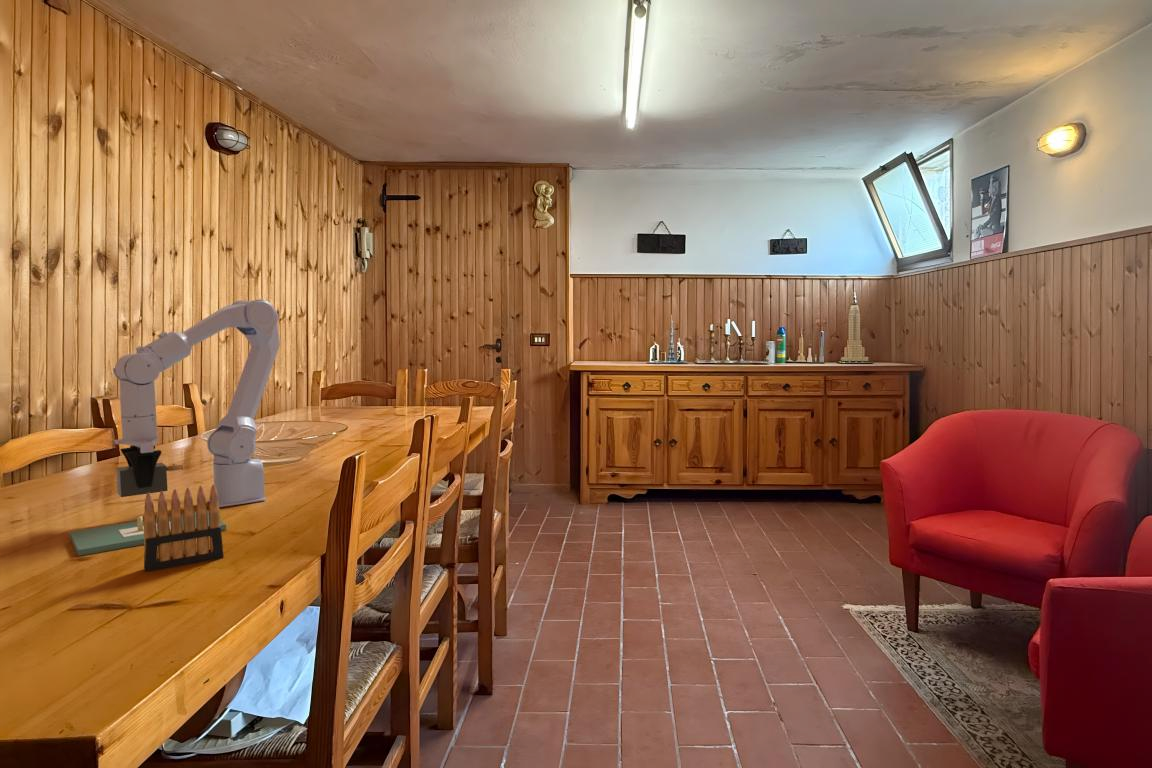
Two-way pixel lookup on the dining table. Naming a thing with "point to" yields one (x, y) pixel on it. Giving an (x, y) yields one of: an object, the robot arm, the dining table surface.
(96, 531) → the board
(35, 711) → the dining table surface
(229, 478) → the robot arm
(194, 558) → the ammunition clip
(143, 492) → the block
